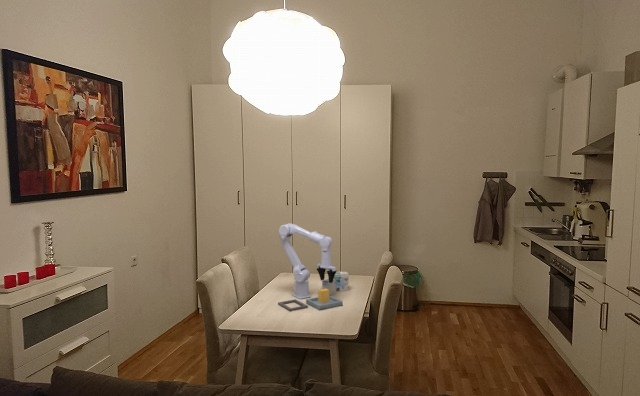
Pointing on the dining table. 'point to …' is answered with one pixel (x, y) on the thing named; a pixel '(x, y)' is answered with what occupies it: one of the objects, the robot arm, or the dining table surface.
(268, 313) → the dining table surface
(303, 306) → the holder frame
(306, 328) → the dining table surface
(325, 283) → the medicine box
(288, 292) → the dining table surface
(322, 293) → the block
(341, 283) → the white printed carton
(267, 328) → the dining table surface
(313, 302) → the parts tray
